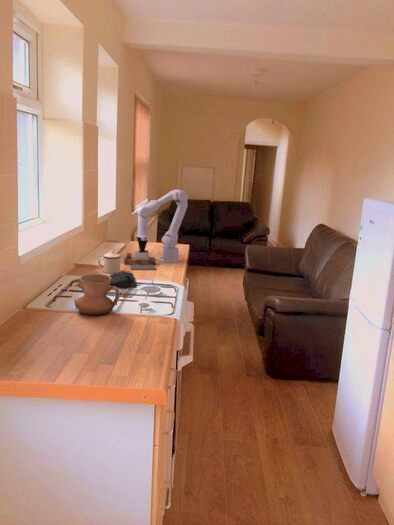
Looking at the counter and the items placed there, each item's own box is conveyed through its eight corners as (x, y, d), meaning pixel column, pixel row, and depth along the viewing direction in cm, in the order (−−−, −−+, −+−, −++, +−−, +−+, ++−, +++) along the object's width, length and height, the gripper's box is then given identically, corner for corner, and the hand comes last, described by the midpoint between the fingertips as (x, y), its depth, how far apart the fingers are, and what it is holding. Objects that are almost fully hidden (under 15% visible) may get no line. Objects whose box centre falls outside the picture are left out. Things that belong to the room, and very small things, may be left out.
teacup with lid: (122, 270, 247) (122, 249, 244) (118, 274, 238) (118, 252, 235) (100, 268, 248) (100, 248, 245) (95, 272, 239) (96, 251, 236)
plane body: (154, 262, 271) (154, 252, 270) (155, 265, 264) (156, 255, 262) (123, 261, 268) (124, 251, 266) (124, 264, 260) (124, 254, 259)
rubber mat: (154, 266, 261) (154, 265, 260) (156, 270, 252) (156, 269, 252) (130, 266, 258) (130, 265, 258) (131, 269, 249) (131, 268, 249)
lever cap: (147, 257, 268) (148, 249, 267) (148, 259, 264) (149, 251, 263) (134, 257, 267) (134, 249, 266) (135, 259, 262) (135, 251, 261)
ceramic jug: (67, 316, 172) (68, 280, 169) (79, 304, 187) (80, 271, 183) (114, 320, 172) (115, 284, 169) (122, 308, 186) (123, 275, 183)
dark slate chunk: (137, 277, 236) (137, 268, 235) (136, 289, 214) (136, 279, 213) (107, 276, 234) (107, 267, 233) (103, 288, 213) (103, 278, 212)
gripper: (134, 225, 267) (134, 248, 270) (136, 229, 253) (135, 252, 256) (146, 225, 269) (145, 248, 272) (149, 229, 255) (148, 253, 258)
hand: (141, 250), depth 264 cm, fingers open, 7 cm apart
